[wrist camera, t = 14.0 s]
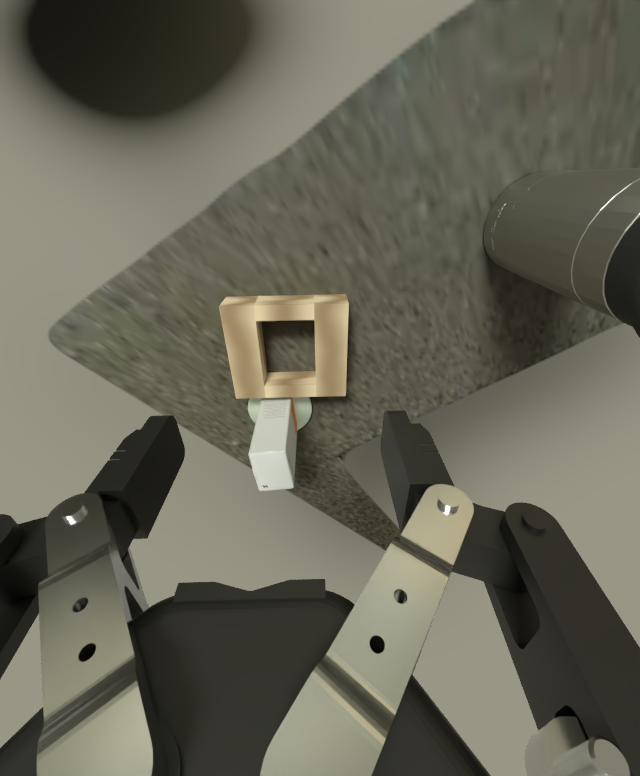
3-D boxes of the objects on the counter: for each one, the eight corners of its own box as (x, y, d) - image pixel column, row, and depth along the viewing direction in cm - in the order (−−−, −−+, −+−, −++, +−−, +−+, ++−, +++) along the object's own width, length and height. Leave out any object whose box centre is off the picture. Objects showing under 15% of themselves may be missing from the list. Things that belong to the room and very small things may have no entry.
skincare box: (298, 424, 47) (294, 489, 37) (269, 426, 48) (258, 492, 37) (292, 389, 44) (286, 451, 34) (261, 392, 44) (246, 454, 34)
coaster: (310, 379, 44) (310, 381, 44) (312, 430, 49) (312, 433, 48) (244, 380, 44) (243, 383, 44) (252, 431, 49) (252, 434, 48)
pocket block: (345, 294, 38) (348, 303, 35) (343, 381, 44) (345, 395, 41) (226, 296, 38) (218, 306, 35) (241, 384, 44) (236, 398, 41)
